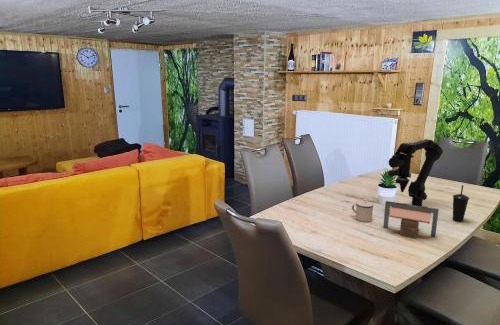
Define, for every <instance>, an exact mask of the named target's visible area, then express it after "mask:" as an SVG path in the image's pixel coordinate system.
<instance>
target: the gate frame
mask: <svg viewBox="0 0 500 325" xmlns="http://www.w3.org/2000/svg"><path fill="white" fill-rule="evenodd" d="M384 205H385V206H384V216H383V229H388V228H389V222H390V221H389V219H390V217H389V215H390V211H391V207H399V208H405V209H411V210H417V211H424V212H430V213H431V214H433V215H432V223H431V230H430V238H436V236H437V235H436V234H437V233H436V232H437V226H438V225H437V224H438V218H439V208H434V207H428V206H423V205H422V206H423V207H422V206H415V205H412V204H408V203H401V202H394V201H386V200H385V204H384Z"/></svg>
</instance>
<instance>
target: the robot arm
mask: <svg viewBox="0 0 500 325" xmlns="http://www.w3.org/2000/svg"><path fill="white" fill-rule="evenodd" d="M418 150H424V151H425V152H424V156H425V159H424V162H423V164H422V165H421V166H422V167H421V169H420V170H419V173H418V175H417V177H416V179H415V180H414V181H411V182H410V179H411V178H412V173H411V172H410V171H411V162H412V158H414V155H413V154H415V153H416V151H418ZM443 152H444V151H443V149H442V147H441V146H440V145H439V144H437V143H435V142H434V140H432V139H428V138H427V139H422V140H419V141H416V142H411V143H410V142H402V143H400V145H399V146H398V148H397V149H396V151H395V153H394V155H393V154H392V155H391V157H390V158H389V159H388V166H389V167H390V168H392V169H389V170H388V171H387V175H388V177H389V178H392V177H396V179H395V181H394V182H395V184H399V187H400V189H399V190H400V192H401V193H404V191H405V190H406V187H407V186H408V184H409V182H410V185H409V186H408V189H407V191H408V196H409V197H411V198H412V199H411V205H415V206H422V207H424V206H423V201H426V200H427V198H428V194H427V193H426V185H425V184H426V181H427V179H428V177H429V175H430V172H431V171H432V168H433V166H434V164H435V162H437V160H440V158H441V156H442V155H443Z"/></svg>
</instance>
